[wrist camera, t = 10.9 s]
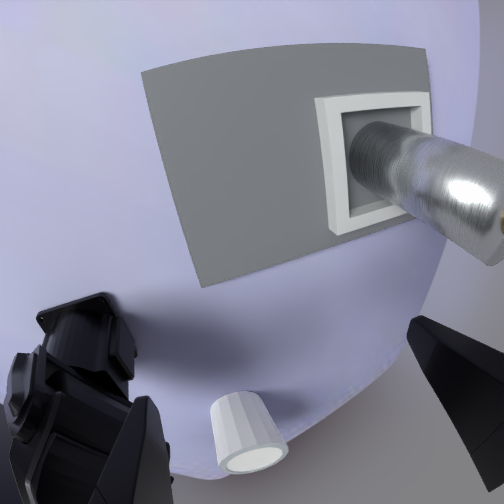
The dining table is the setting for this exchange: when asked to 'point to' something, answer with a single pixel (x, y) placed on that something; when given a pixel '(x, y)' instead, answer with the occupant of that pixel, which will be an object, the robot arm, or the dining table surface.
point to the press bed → (279, 147)
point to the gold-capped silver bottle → (435, 184)
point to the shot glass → (245, 434)
